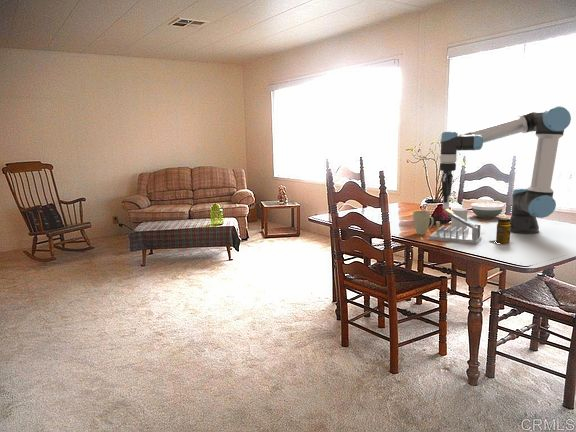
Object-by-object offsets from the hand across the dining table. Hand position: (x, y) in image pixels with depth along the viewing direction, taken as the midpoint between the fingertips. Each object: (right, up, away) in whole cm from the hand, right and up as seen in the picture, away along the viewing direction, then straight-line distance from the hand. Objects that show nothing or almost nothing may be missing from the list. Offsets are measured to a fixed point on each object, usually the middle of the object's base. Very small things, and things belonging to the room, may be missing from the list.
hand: (445, 208), depth 213 cm
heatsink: (+5, -16, 0) cm, 17 cm away
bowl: (+44, -5, +48) cm, 66 cm away
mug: (-7, -14, +15) cm, 21 cm away
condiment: (+24, -17, -9) cm, 31 cm away
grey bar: (+6, -7, -3) cm, 10 cm away
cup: (+14, -12, +19) cm, 27 cm away
